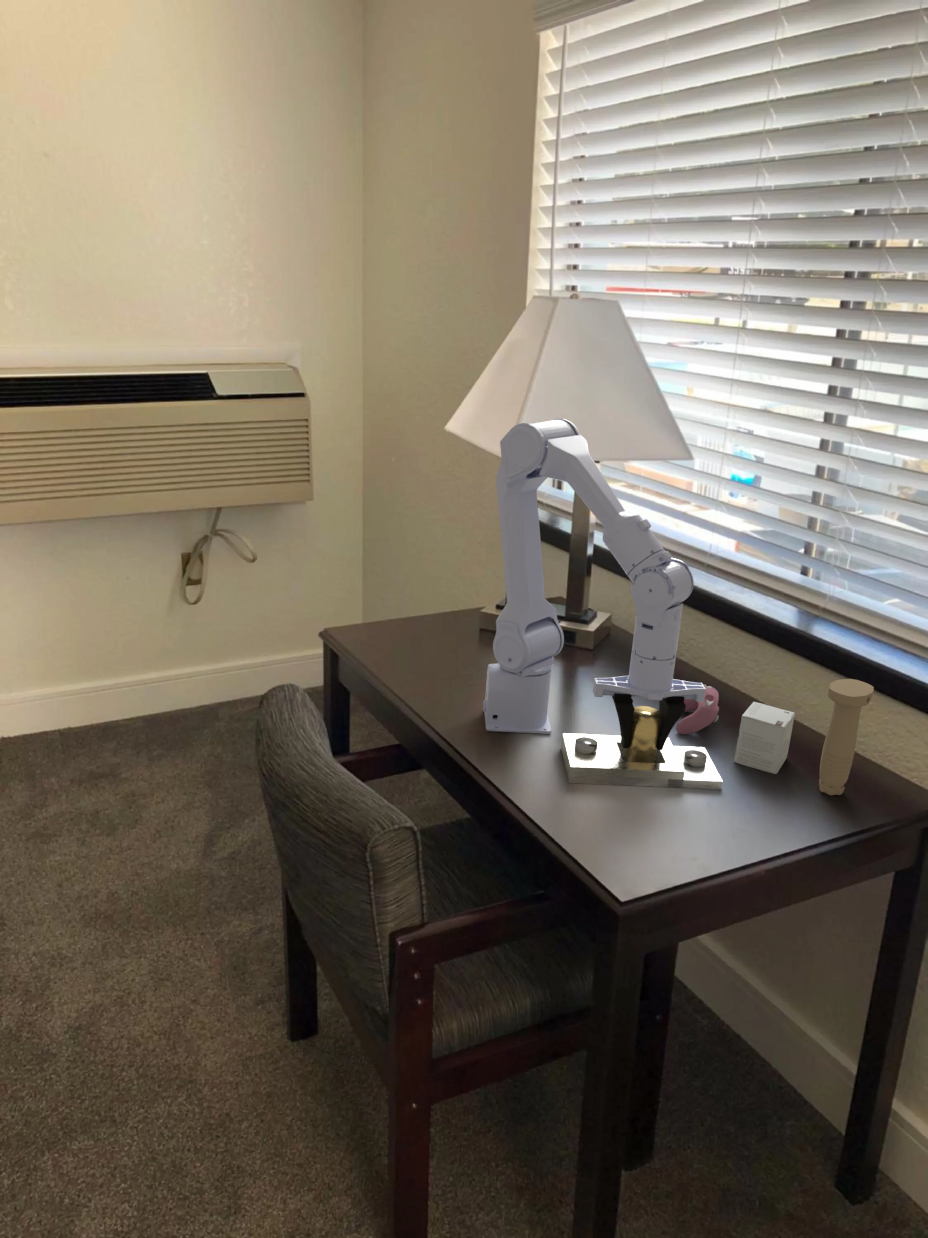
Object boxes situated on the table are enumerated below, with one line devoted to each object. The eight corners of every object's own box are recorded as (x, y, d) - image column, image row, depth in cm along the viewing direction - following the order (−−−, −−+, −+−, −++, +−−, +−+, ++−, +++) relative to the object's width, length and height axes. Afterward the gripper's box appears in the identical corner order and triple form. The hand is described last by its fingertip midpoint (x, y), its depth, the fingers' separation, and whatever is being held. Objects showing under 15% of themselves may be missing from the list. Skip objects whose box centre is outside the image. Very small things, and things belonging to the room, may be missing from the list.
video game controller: (699, 748, 146) (727, 712, 143) (673, 731, 146) (700, 695, 143) (697, 720, 155) (723, 686, 152) (672, 705, 155) (698, 670, 152)
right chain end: (608, 784, 130) (610, 768, 130) (597, 750, 140) (599, 734, 139) (721, 789, 131) (724, 773, 130) (703, 754, 140) (705, 739, 139)
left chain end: (569, 783, 130) (571, 758, 129) (560, 748, 139) (563, 725, 138) (682, 787, 131) (686, 763, 130) (666, 753, 140) (670, 730, 139)
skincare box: (744, 747, 144) (752, 700, 141) (787, 758, 141) (796, 711, 138) (733, 763, 139) (740, 715, 136) (776, 775, 136) (785, 726, 133)
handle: (801, 790, 132) (821, 687, 127) (825, 776, 136) (846, 675, 131) (834, 805, 129) (857, 700, 124) (859, 791, 133) (881, 688, 128)
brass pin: (627, 765, 133) (633, 718, 130) (623, 751, 137) (629, 705, 134) (657, 767, 133) (664, 720, 130) (652, 752, 137) (658, 706, 134)
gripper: (603, 661, 125) (592, 757, 130) (716, 666, 126) (701, 762, 131) (595, 641, 132) (585, 733, 137) (703, 646, 133) (689, 738, 137)
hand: (641, 746), depth 134 cm, fingers closed on brass pin, 4 cm apart
